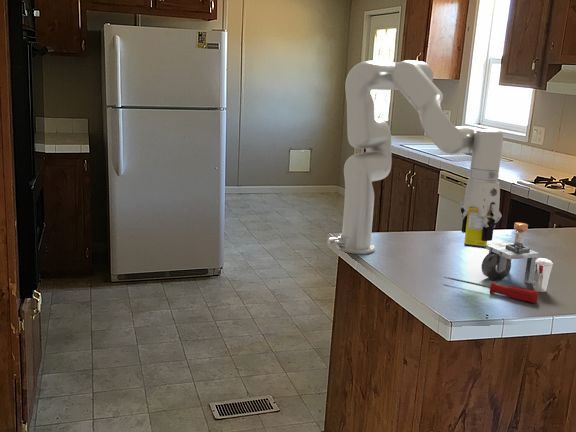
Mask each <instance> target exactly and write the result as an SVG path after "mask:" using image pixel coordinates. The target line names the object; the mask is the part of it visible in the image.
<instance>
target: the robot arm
mask: <svg viewBox="0 0 576 432" xmlns="http://www.w3.org/2000/svg"><path fill="white" fill-rule="evenodd" d="M433 80H434V72H433V69H432V68H431V66H430V65H429V64H428V63H426V62H425V61H421V60H420V61H419V60H411V59H407V60H402V61H400V62H397V61H396V62H389V61H380V60H366V61H364V60H363V61H361V62H359V63H357V64H355V65H354V66H353V67H352V68H351V69H350V70H349V72H348V74H347V76H346V79H345V84H344V85H345V87H344V89H345V98H346V125H347V127H346V130H347V131H346V132H347V141H348V144H349V146H351V147H352V148H354V149H360V150H362V149H365V152H359V153H354V154H351V155H350V156H349V157H348V158H347V159H346V161H345V163H344V166H343V177H344V178H343V179H344V186H345V187H344V199H343V200H344V203H343V204H344V205H343V215H342V217H343V218H342V231H341V233H339V235H338V236H336V237H328V238H327V242H328V244H330V245H331V244H334V245H336V249H338V251H341V252H344V253H347V254H355V255H367V254H371V253H374V252H375V249H376V247H375V245H374V244H373V243H371V242H372V230H373V219H374V206H375V191H374V186H373V182H377V181H381V180H384V179H385V178H387V177H388V176H389V174H391V173H390V172H391V170H392V164H393V163H392V133H391V129H390V126H389V124H388V123H387V122H386V121H385V120H384V119H383V118H379V117H375V104H374V100H373V96H372V94H371V91H372V90H378V91H379V90H380V91H381V90H382V91H383V90H384V91H387V90H389V91H394V90H395V91H399V92H400V93H401V94H402V95H403V97H405V98H406V100H407V101H408V102H409V104H411V106H412V107H413V109H415V111H416V112H417V113H418V116H419V120H420V124H421V126H422V129H423V130H424V132H425V134H426V135H427V137H428V138H429V139H430V140H431V141H432V143H433V144H434V145H435V146H436V147H437V148H438V149H439V150H440V151H441V152H442V153H444V154H447V155H460V154H467V153H468V154H469V153H471V157H470V158H471V161H470V168H469V177H468V179H467V182H466V186H465V187H466V188H465V192H464V199H461V200H460V201H459V207H460V213H461V214H462V215H461V218H462V225H461V233H463V234H465V232H466V224H467V216H468V209H469V207H472V208H475V209H477V210H478V216H479V217H482V218H483V221H484V225H485V227H483V229H482V237H481V240H482V241H487V242H489V241H493V235H494V228H496V226H497V224H498V223H499V221H500V220H501V218H502V216H503V215H502V213H501V211H500V202H501V201H500V199H501V187H500V182H499V181H498V180H499V177H500V175H499V174H500V164H501V159H502V158H501V157H502V151H503V144H504V143H503V142H504V133H503V132H502V131H501V130H498V129H491V128H490V129H488V128H479V127H475V126H469V125H459V126H457V125H454V124H453V123H452V122H451V121H450V119H449V118H448V117H447V115H446V114H445V113H444V111H443V109H442V107H441V103H442V102H443V98H444V94H443V92H442V91H441V90H440V89H439V87H437V85H435V83H434V82H433ZM489 210H490V211H491V212H490V215H487V213H488V212H489ZM487 218H490V221H489V222H488V219H487Z"/></svg>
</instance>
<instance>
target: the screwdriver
mask: <svg viewBox="0 0 576 432" xmlns="http://www.w3.org/2000/svg"><path fill="white" fill-rule="evenodd" d="M443 278H444V279H448V280H451V281H456V282H459V283H460V282H461V283H464V284H470V285H475V286H477V287H483V288H487V289H489V293H490V294H499V295H504V296H506V297H509V298H511V299H514V300H517V301H523V302H527V303H531V304H537V303H538V299H539V294H540V293H539V292H538V291H536V290H534V289H529V288H525V287H520V286H515V285H511V286H510V285H508V286H507V285H501V284H498V283H496V282H494V281H491V283H490V285H487V284H486V285H485V284H482V283H477V282H472V281H468V280H463V279H458V278H454V277H450V276H449V277H447V276H443Z"/></svg>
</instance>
